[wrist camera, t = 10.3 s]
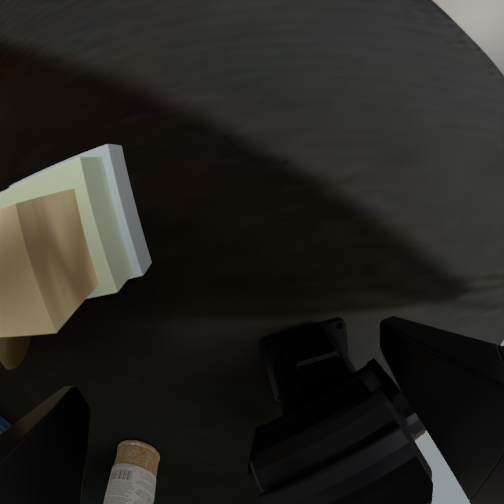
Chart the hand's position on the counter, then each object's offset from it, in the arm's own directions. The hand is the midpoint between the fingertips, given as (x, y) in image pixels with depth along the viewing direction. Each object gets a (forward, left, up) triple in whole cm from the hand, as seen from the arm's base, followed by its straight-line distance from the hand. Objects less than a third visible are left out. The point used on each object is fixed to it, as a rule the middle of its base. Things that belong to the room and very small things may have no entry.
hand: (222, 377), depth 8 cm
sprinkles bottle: (-18, +14, -13) cm, 27 cm away
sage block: (+4, +9, -11) cm, 14 cm away
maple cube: (+4, +9, -8) cm, 12 cm away
